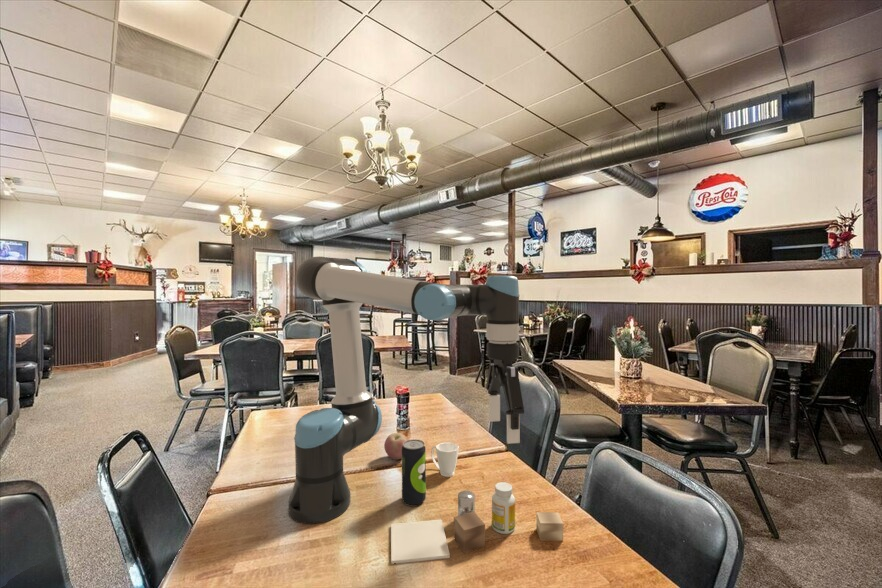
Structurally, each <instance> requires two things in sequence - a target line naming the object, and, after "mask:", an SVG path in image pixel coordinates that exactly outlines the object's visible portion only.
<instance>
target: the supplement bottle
mask: <svg viewBox="0 0 882 588" xmlns="http://www.w3.org/2000/svg"><path fill="white" fill-rule="evenodd" d="M494 485H495V486H494V493H493V494H492V497H491V526H492V529H493V530H494V531H495V532H497V533H498V534H502V535H507V534H512V533H513V532H514V531H515V528H516V497H515V496H514V494H513V492H514V491H513V485H511V483H509V482H505V481H504V482H501V481H500V482H497V483H496V484H494Z"/></svg>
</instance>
